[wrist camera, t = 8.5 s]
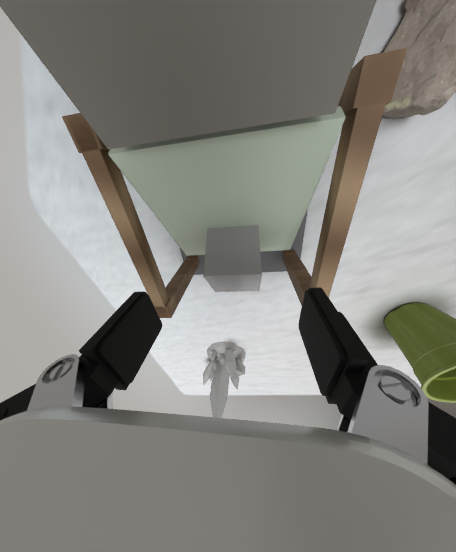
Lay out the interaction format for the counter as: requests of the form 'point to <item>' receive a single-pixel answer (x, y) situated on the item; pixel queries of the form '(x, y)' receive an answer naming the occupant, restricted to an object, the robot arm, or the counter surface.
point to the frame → (340, 205)
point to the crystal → (223, 372)
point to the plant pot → (427, 347)
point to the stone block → (233, 259)
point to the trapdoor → (207, 100)
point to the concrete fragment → (424, 58)
